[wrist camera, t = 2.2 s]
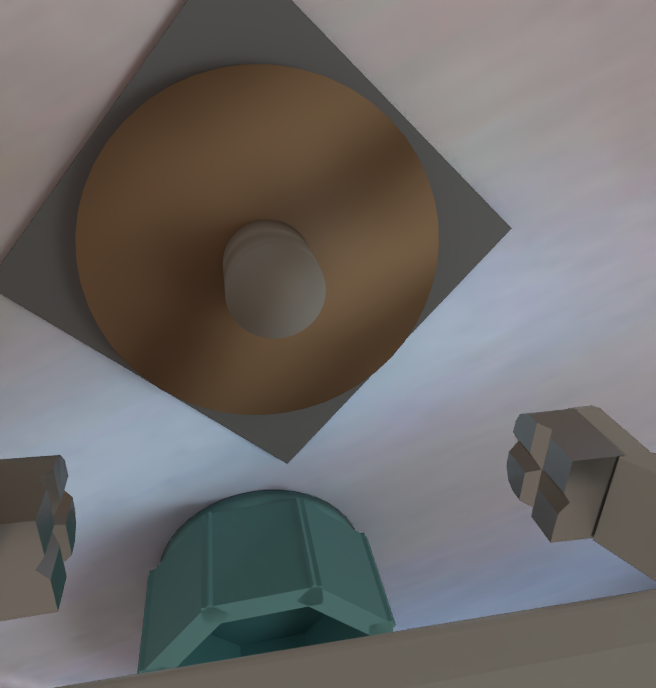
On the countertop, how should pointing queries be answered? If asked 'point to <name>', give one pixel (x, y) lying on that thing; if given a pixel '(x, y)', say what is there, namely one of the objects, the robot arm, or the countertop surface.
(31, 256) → the mat
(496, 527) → the countertop surface
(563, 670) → the robot arm
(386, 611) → the bowl
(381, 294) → the lid
